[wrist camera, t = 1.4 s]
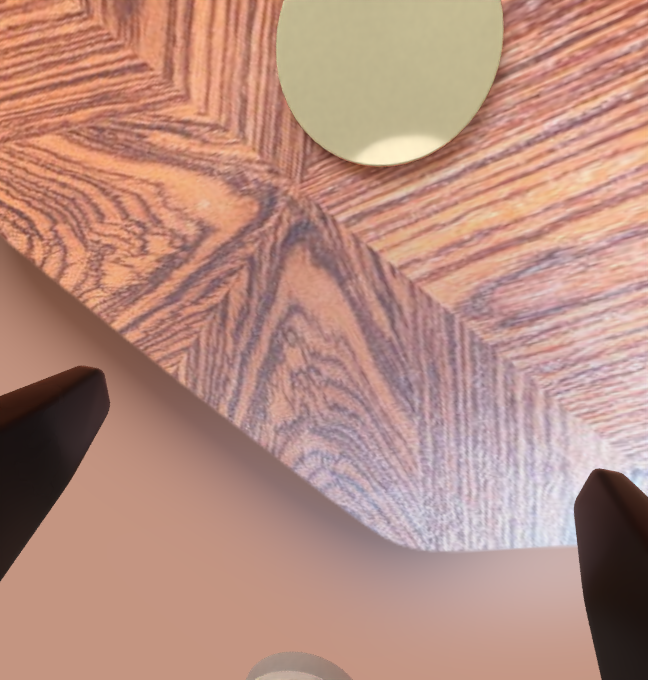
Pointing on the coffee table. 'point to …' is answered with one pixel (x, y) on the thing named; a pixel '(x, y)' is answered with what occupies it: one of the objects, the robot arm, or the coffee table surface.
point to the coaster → (387, 72)
